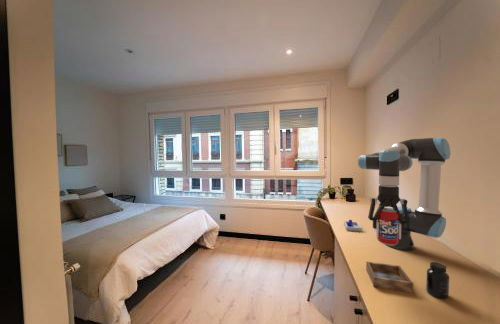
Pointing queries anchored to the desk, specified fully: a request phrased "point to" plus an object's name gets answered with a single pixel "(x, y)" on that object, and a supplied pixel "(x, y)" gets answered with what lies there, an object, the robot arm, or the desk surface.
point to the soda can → (388, 226)
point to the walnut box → (389, 277)
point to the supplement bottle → (437, 281)
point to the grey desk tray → (355, 227)
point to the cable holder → (350, 223)
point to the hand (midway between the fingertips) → (387, 236)
